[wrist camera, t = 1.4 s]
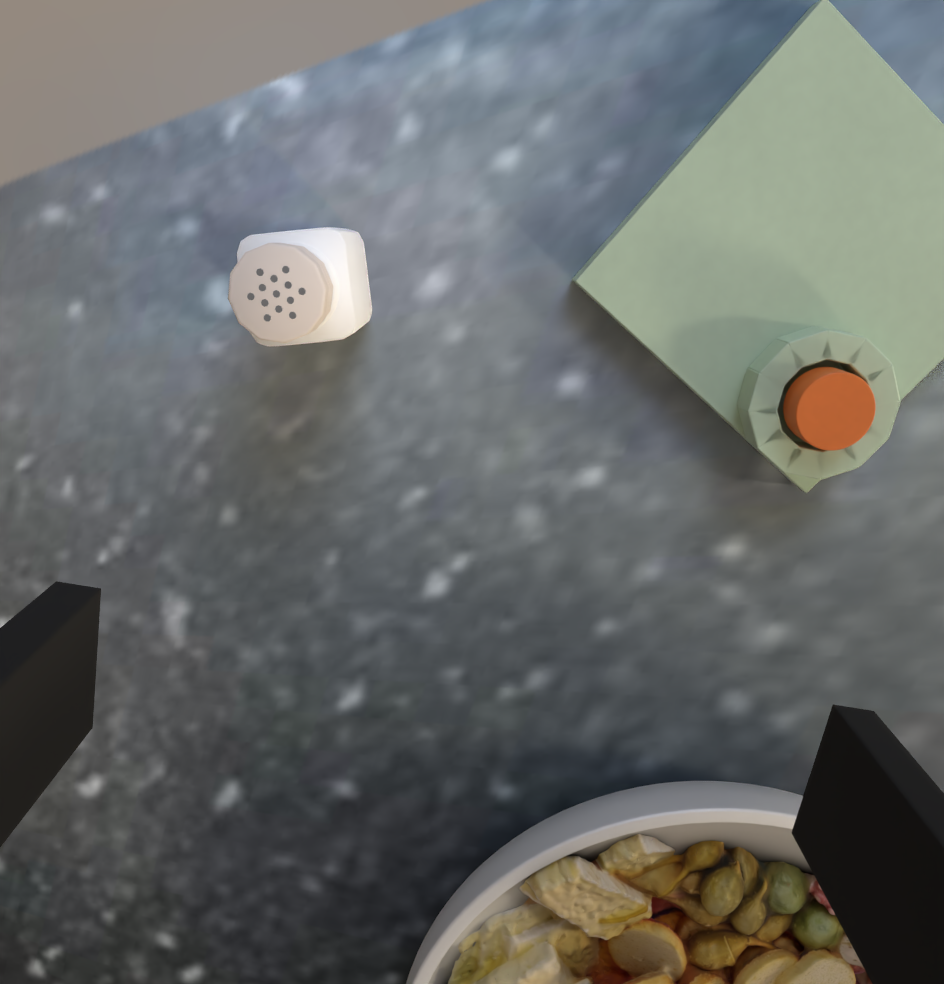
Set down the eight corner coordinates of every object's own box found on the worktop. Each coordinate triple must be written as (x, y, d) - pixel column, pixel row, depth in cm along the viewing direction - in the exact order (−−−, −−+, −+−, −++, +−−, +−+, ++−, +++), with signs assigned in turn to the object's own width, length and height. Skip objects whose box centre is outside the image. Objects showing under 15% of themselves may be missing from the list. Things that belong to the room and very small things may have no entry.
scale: (811, 5, 35) (842, -16, 32) (1037, 247, 37) (1084, 247, 34) (570, 280, 38) (578, 284, 35) (795, 486, 40) (820, 506, 37)
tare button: (823, 350, 36) (838, 355, 34) (875, 401, 36) (893, 408, 35) (766, 408, 37) (779, 415, 35) (818, 457, 37) (833, 466, 36)
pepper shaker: (363, 227, 37) (328, 223, 28) (375, 323, 38) (345, 349, 29) (269, 237, 37) (204, 236, 28) (284, 332, 38) (226, 361, 29)
